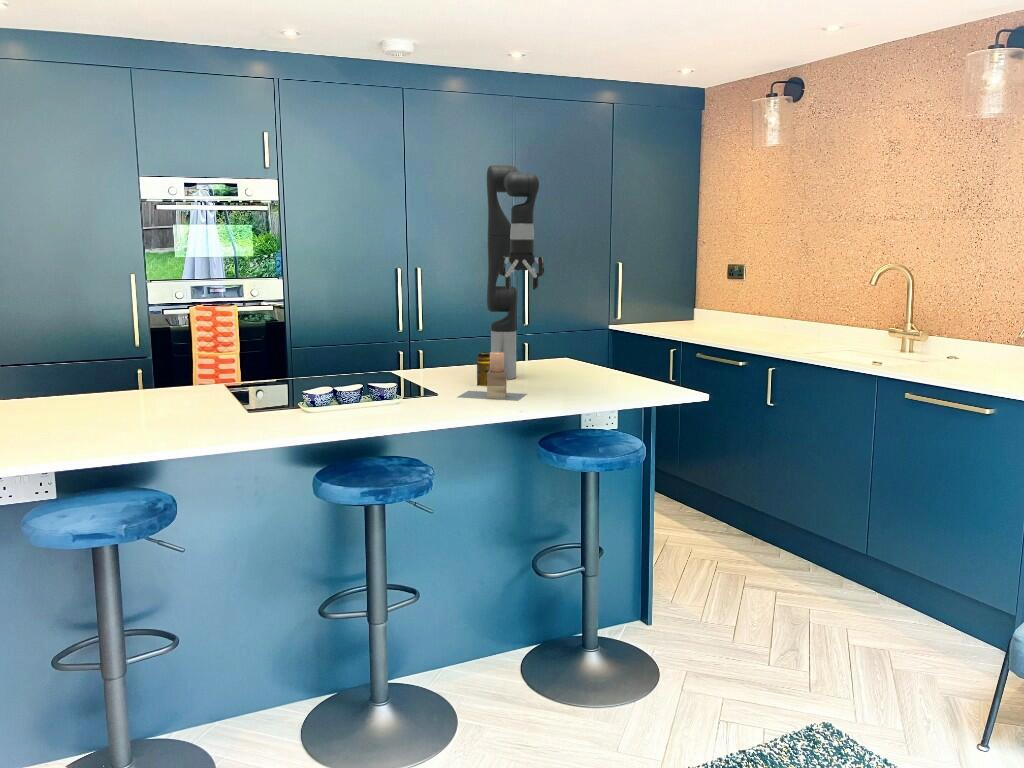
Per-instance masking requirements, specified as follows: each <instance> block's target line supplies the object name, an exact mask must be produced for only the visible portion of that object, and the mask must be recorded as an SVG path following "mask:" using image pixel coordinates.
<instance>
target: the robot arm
mask: <svg viewBox="0 0 1024 768" xmlns="http://www.w3.org/2000/svg"><path fill="white" fill-rule="evenodd" d="M539 189H540V180H539V178H538V176H537V175H536V174H530V173H528V174H527V173H526V174H525V173H521V172H520V170H519V169H518V168H517V167H516V166H513V165H503V164H502V165H501V164H500V165H498V164H497V165H496V164H495V165H488V167H487V171H486V191H487V193H486V194H487V195H486V196H487V210H488V211H487V216H488V217H487V262H488V263H487V264H488V265H487V267H488V269H487V270H488V271H487V272H488V273H487V288H486V306H487V310H488V311H489V312H491V313H507V314H506V315H505V316H504V317H503V318H500V319H499V320H495V321H493V322H492V323H491V325H490V352H504V371H507V375H506V380H512V379H516V378H517V312H518V309H517V308H518V291H517V288H516V286H512V277H511V276H512V274H513V273H514V272H515V271H528V272H529V273H530V274H531V275H532V277H533V278H532V290H534V291H536V290H537V289H538V288H539V278H540V277H542V276H545V261H544V257H543V256H539V257H535V253H534V252H535V250H534V249H535V242H534V241H535V230H534V229H535V228H534V208H535V203H536V199H537V197H538V192H539ZM498 193H506V194H507V196H509V197H514V198H515V197H516V198H519V197H520V198H523V197H524V198H526V200H525V202H523V203H519V204H515V205H513V206H512V207H511V209H510V212H511V213H510V214H511V215H510V216H511V217H510V221H511V222H510V221H509V219H508V217H507V216H506V214H505V212H504V211H503V209H502V207H501V205H500V202H499V198H498ZM508 262H509V263H510V264H511V265H510V267H509V268H508V270H507V271H506V268H507V267H506V266H507V264H508ZM535 262H536V264H537V265H538V272H537V270H536V268H535V267H534V266H533V265H534V263H535ZM499 276H503V277H504V278H505V285H503V286H501V285H498V286H497V281H498V277H499Z"/></svg>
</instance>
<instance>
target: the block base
mask: <svg viewBox="0 0 1024 768" xmlns="http://www.w3.org/2000/svg"><path fill="white" fill-rule="evenodd" d="M486 392H487V398H489V399H488V400H493V399H505V397H506V393H507V384H506V385H505V386H486Z"/></svg>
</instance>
